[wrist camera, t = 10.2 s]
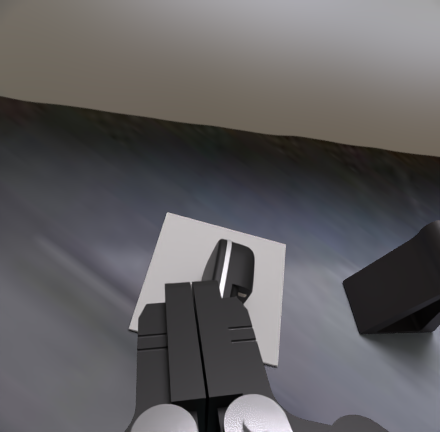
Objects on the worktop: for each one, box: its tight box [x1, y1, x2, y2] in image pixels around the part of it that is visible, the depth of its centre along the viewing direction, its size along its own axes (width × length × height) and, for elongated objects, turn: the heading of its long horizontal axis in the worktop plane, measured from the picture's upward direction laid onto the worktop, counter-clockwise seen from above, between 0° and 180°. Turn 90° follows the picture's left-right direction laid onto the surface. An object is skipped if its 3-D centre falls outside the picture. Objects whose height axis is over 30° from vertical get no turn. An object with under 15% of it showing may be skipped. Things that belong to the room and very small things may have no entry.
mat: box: [129, 212, 286, 367], centre depth 40 cm, size 14×14×1 cm
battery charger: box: [201, 239, 255, 304], centre depth 35 cm, size 7×4×11 cm
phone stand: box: [343, 220, 440, 334], centre depth 39 cm, size 9×6×12 cm, turn 96°
